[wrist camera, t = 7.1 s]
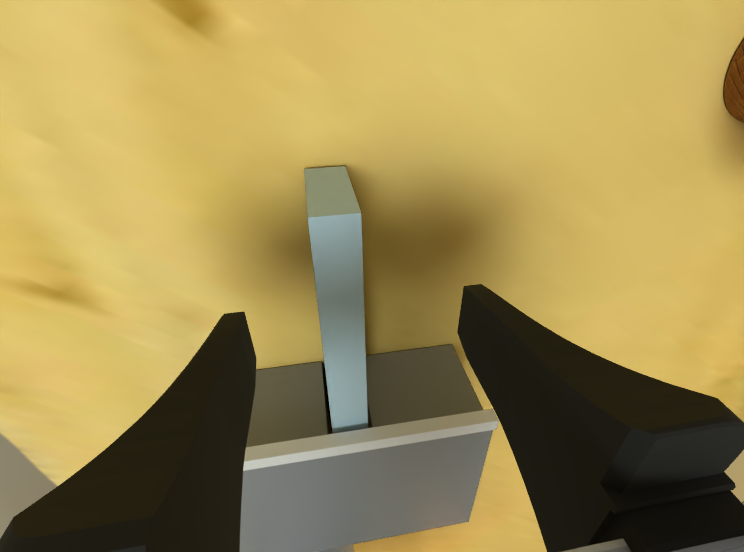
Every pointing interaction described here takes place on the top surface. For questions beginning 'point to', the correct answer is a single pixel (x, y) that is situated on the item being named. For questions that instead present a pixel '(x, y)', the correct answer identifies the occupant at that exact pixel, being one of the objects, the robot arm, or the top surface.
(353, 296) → the light blue rectangular block
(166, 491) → the robot arm
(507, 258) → the top surface
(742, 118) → the disposable coffee cup
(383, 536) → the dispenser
